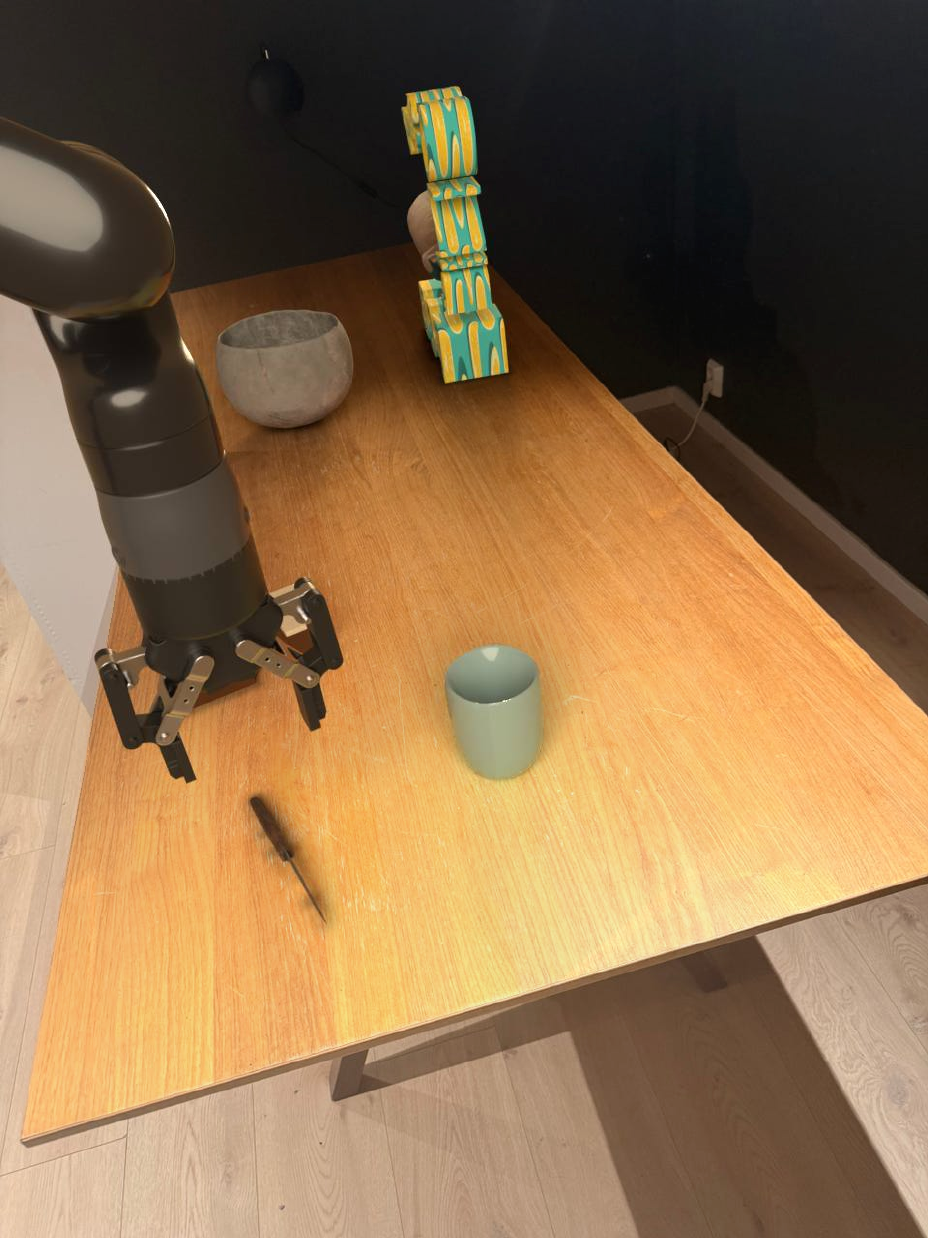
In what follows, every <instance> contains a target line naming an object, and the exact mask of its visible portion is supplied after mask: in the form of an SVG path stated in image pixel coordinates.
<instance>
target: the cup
mask: <svg viewBox="0 0 928 1238" xmlns="http://www.w3.org/2000/svg"><path fill="white" fill-rule="evenodd" d="M540 672H541V671H540V668H539V666H538V665H537V662H536V661H535V660H534V659H533V658H532V656H530V655H529V654H528V653H526V652H525V651H524V650H522V649H519V648H517V647H514V646H511V645H507V644H487V645H483V646H478V647H476V648H475V647H474V648H473V649H470V650H468V651H466V652H464V653H463V654H461V655H459V656H458V657H457V658H455V659H454V661H452V662H451V663H450V664H449V665H448V667H447V669H446V670H445V673H444V681H443V682H444V683H443V685H444V694H445V701H446V705H447V711H448V716H449V717H448V718H449V722H450V726H451V730H452V734H453V738H454V740H455V741H454V742H455V744H456V746H457V749H458V752H459V754H460V756H461V757H462V759H463V760H464V762H465V763H466V765H467V766H468V767H469V768H470V769H471V770H472V771H473V772H475V773H476V774H478V775H480V776H481V777H484V778H486V779H489V780H494V781H504V780H509V779H513V778H516V777H518V776H520V775H521V774H523V773H525V772H526V771H527V770H528V769H530V768H531V767H532V766H533V764H534V763H535V762H536V760H538V757H539V755H540V753H541V750H542V746H543V741H544V735H545V712H544V711H545V709H544V700H543V699H544V698H543V687H542V679H541V673H540Z"/></svg>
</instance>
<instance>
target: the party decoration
mask: <svg viewBox="0 0 928 1238" xmlns="http://www.w3.org/2000/svg"><path fill="white" fill-rule="evenodd" d="M461 90H462V89H461V88H460V87H459V86H457V85H455V86H449V87H448V86H447V87H442V88H435V89H429V90H421V91H416V92H408V93H405V96H406V106H402V107H401V114H402V120H403V123H404V128H405V133H406V138H407V144H408V149H409V153H410V155H411V156H412V155H417V154H418V155H419V154H422V157H423V163H424V169H425V174H426V178H427V181H428V182H427V183H426V190H425V191H423V192H422V193H420V194H418V196H417V197H416V198H415V199H414V201H413V203H412V204H411V205H410V207H409V208H408V212H407V218H406V222H407V223H406V224H407V226H408V231H409V234H410V236H411V238H412V241H413V243H414V246H415V247H416V249H417V251H418V252H419V254H420V256H421V262H422V264H423V267H424V269H425V270H426V272H427V273H428V274H429V276H431V277H432V278H433V279H426V280H419V281H418V289H419V297H420V303H421V304H420V305H421V310H422V319H423V325H424V329H425V332H426V334H427V337H428V340H430V343H431V344H430V345H431V348H432V351H433V353H434V356H435V358H439V361H440V366H441V374H442V379H443V381H444V384H449V383H454V382H461V381H466V380H472V379H479V378H484V377H485V378H486V377H490V376H495V375H502V374H507V373H509V360H508V351H507V340H506V329H505V323H504V317H503V315H502V314H501V312H500V311H499V309H498V307H497V305H496V303H493V299H492V293H491V283H490V281H491V280H490V275H489V269H488V266H487V265H488V264H489V262H488V256H487V255H486V253H485V252H486V251H487V242H486V235H485V232H484V227H483V221H482V217H481V216H482V215H481V212H480V208H479V202H478V198H477V195H481V194H482V189H481V185H480V184H479V183H478V181H477V180H476V179H475V177H474V176H475V175H477V174H478V151H477V139H476V131H475V123H474V117H473V112H472V106H471V101H470V99H469V98H468V97H466V96H465V95H463V94H462V91H461ZM425 325H426V326H425ZM426 328H427V329H426Z"/></svg>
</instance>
